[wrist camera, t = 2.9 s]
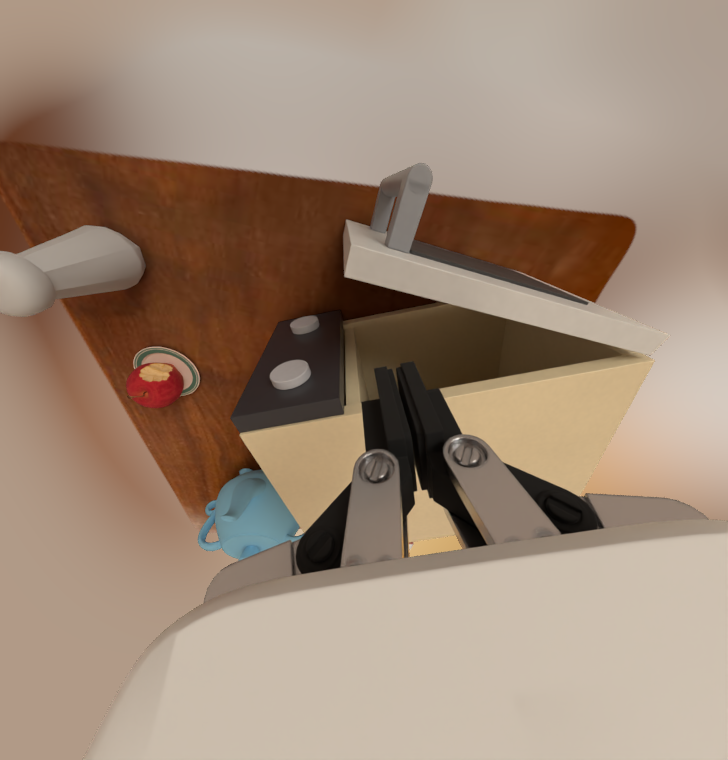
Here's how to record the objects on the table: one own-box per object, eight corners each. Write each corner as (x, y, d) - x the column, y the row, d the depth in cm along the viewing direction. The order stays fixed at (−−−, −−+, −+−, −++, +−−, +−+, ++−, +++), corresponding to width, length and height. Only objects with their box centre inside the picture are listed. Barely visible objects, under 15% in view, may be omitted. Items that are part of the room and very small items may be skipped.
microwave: (276, 315, 33) (223, 411, 18) (517, 267, 31) (673, 328, 17) (326, 443, 47) (319, 556, 32) (494, 414, 45) (568, 517, 31)
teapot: (279, 514, 59) (264, 591, 48) (198, 478, 50) (155, 562, 38) (331, 484, 54) (328, 562, 42) (251, 437, 45) (221, 520, 33)
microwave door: (355, 169, 25) (374, 130, 10) (542, 233, 29) (737, 269, 15) (342, 236, 28) (343, 277, 14) (513, 285, 32) (650, 356, 18)
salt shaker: (143, 227, 27) (11, 247, 16) (162, 284, 30) (62, 333, 19) (79, 220, 26) (-104, 236, 15) (105, 279, 29) (-31, 327, 18)
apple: (122, 350, 34) (81, 379, 29) (181, 340, 34) (151, 366, 28) (159, 397, 39) (130, 429, 33) (211, 388, 38) (190, 419, 33)
